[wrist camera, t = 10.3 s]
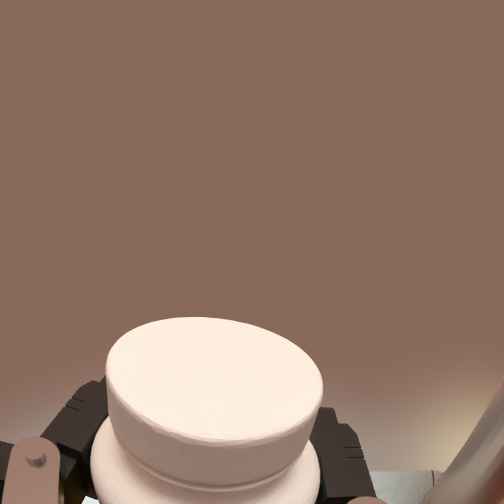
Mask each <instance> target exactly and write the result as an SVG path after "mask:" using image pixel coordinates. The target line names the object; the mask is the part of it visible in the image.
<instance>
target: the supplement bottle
mask: <svg viewBox="0 0 504 504" xmlns="http://www.w3.org/2000/svg"><path fill="white" fill-rule="evenodd" d="M105 368H106V385H107V397H108V413H109V416H108V417H107V419H106V420H105V421H104V422H103V424H102V425H101V427H100V428H99V430H98V432H97V434H96V436H95V439H94V442H93V445H92V450H91V457H90V467H91V476H92V480H93V484H94V488H95V492H96V495H97V498H98V500H99V503H100V504H315V502H316V499H317V495H318V492H319V486H320V467H319V462H318V458H317V455H316V452H315V449H314V447H313V445H312V444H311V442H310V440H309V437H310V434H311V431H312V428H313V425H314V422H315V419H316V416H317V413H318V410H319V407H320V404H321V401H322V396H323V382H322V378H321V374H320V372H319V370H318V368H317V367H316V365H315V363H314V362H313V360H311V358H310V357H309V356H308V355H307V354H306V353H305V352H304V351H302V350H301V349H300V348H299V347H297V346H296V345H295V344H293V343H291V342H290V341H288V340H287V339H285V338H283V337H280V336H279V335H277V334H275V333H272V332H270V331H267V330H265V329H262V328H259V327H256V326H253V325H249V324H245V323H241V322H236V321H231V320H224V319H218V318H205V317H186V318H172V319H166V320H160V321H155V322H151V323H148V324H145V325H142V326H140V327H137V328H135V329H133V330H131V331H129V332H128V333H126V334H125V335H123V336H122V337H121V338H120V339H119V340H118V341H117V342H116V343H115V345H113V347H112V348H111V350H110V352H109V355H108V358H107V362H106V367H105Z"/></svg>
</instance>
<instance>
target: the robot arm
mask: <svg viewBox="0 0 504 504" xmlns="http://www.w3.org/2000/svg"><path fill="white" fill-rule="evenodd" d="M108 416H109V413H108V397H107V385H106V375H105V376H104V378H103V379H102V380H101V382H96V381H90V382H89V383H87V384H85V385H83V386H81V387H80V388H79V389H78V390H77V391H76V393H75V394H74V395H73V396H72V399H70V400H69V401H68V402H67V404H66V406H65V407H63V408H62V410H61V411H60V412H59V413H58V415H57V416H56V417H55V418H54V420H53V421H52V422H51V423H50V425H49V426H48V427H47V428H46V430H45V431H44V432H43V434H42V435H41V436H40V437H36V436H33V437H26V438H23V439H21V440H19V441H18V442H16V443H15V444H10V443H6V442H2V441H0V504H82V502H83V500H84V498H85V496H88V497H90V498H93V499H96V500H98V498H97V495H96V492H95V488H94V484H93V480H92V476H91V467H90V457H91V450H92V445H93V442H94V439H95V436H96V434H97V432H98V430H99V428H100V427H101V425H102V424H103V422H104V421H105V420H106V419H107V417H108ZM309 440H310V442H311V444H312V445H313V447H314V449H315V452H316V455H317V458H318V462H319V467H320V486H319V492H318V495H317V499H316V502H315V504H387V503H386V502H384V501H382V500H380V499H378V498H377V497H376V494H375V491H374V487H373V484H372V481H371V478H370V474H369V471H368V468H367V465H366V462H365V460H364V455H363V452H362V449H361V446H360V443H359V440H358V437H357V434H356V433H355V432H354V431H353V430H352V429H351V427H349V425H348V424H338V421H337V418H336V414H335V411H334V409H333V408H329V407H328V408H327V407H319V410H318V413H317V416H316V419H315V422H314V425H313V428H312V431H311V434H310V437H309ZM422 504H504V375H503V377H502V380H501V382H500V384H499V386H498V388H497V389H496V392H495V394H494V396H493V397H492V399H491V401H490V403H489V405H488V407H487V408H486V410H485V412H484V414H483V415H482V417H481V419H480V420H479V422H478V424H477V425H476V427H475V429H474V430H473V432H472V433H471V435H470V437H469V438H468V440H467V441H466V443H465V444H464V446H463V447H462V449H461V450H460V452H459V453H458V454H457V456H456V457H455V459H454V460H453V462H452V463H451V464H450V466H449V467H448V468H447V470H446V471H445V472H444V474H443V475H442V476H441V478H440V479H439V480H438V481H437V483H436V484H435V485H434V486H433V488H432V489H431V490H430V491H429V493H428V494H427V495H426V496H425V498H424V500H423V502H422Z"/></svg>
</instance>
